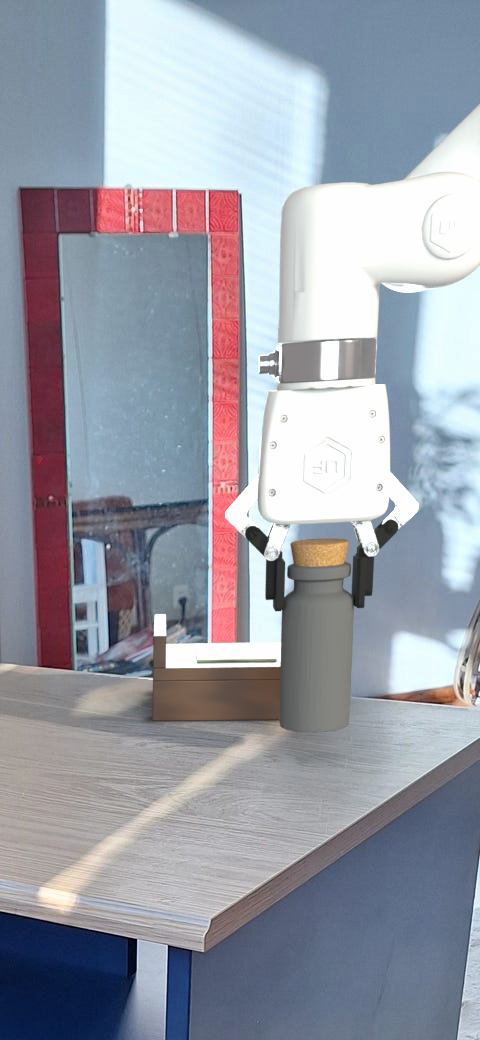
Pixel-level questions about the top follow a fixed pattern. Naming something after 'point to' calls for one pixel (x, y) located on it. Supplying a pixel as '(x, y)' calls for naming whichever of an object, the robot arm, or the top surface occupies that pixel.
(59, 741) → the top surface
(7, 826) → the top surface
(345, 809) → the top surface
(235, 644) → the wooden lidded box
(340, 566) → the bottle
